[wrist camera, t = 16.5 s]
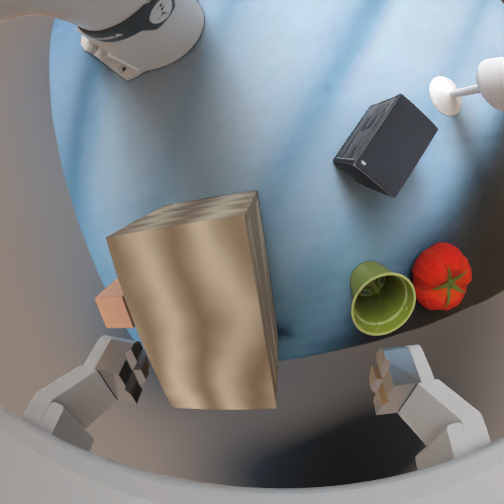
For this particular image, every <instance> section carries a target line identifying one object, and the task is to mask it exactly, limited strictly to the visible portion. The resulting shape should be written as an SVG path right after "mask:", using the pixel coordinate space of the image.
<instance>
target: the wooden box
mask: <svg viewBox="0 0 504 504" xmlns="http://www.w3.org/2000/svg"><path fill="white" fill-rule="evenodd" d="M106 239H107V243H108V247H109V250H110V254H111V257H112V260H113V264H114V267H115V270H116V273H117V276H118V279H119V282H120V285H121V288H122V291H123V294H124V297H125V300H126V303H127V305H128V308H129V311H130V314H131V316H132V319H133V321H134V324H135V327H136V329H137V332H138V334H139V337H140V339H141V341H142V344H143V346H144V348H145V351H146V353H147V355H148V358H149V360H150V362H151V364H152V367H153V369H154V371H155V373H156V375H157V377H158V379H159V382H160V384H161V386H162V388H163V390H164V392H165V394H166V395H167V397H168V400H169V401H170V403H171V405H172V407H175V408H191V409H216V410H218V409H219V410H241V409H242V410H244V409H246V410H247V409H271V408H272V409H273V408H276V405H277V404H276V403H277V368H278V331H277V324H276V317H275V309H274V302H273V295H272V288H271V281H270V274H269V267H268V260H267V253H266V246H265V239H264V233H263V226H262V219H261V213H260V206H259V200H258V193H257V191H251V192H244V193H237V194H231V195H224V196H218V197H212V198H206V199H200V200H194V201H188V202H183V203H177V204H172V205H167V206H163V207H161V208H159V209H157V210H155V211H153V212H151V213H149V214H148V215H146V216H144V217H142V218H140V219H138V220H137V221H135V222H133V223H131V224H129V225H127V226H126V227H124V228H122V229H120V230H119V231H117V232H115V233H113V234H112V235H110V236H108V237H106Z"/></svg>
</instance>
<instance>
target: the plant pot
mask: <svg viewBox="0 0 504 504" xmlns="http://www.w3.org/2000/svg"><path fill="white" fill-rule="evenodd" d="M381 277H383V281H382V283H380V281H381ZM350 286H351V291H352V297H353V300H352V304H351V316H352V320H353V322H354V324H355V326H356V327H357V328H358V329H359V330H360V331H362V332H363V333H366V334H369V335H374V336H375V335H384V334H388V333H390V332H392V331H394V330H396V329H398V328H399V327H400V326H402V325H403V324H404V323H405V322H406V321H407V319H408V318H409V317H410V315H411V313H412V311H413V309H414V306H415V302H416V293H415V289H414V286H413V284H412V283H411V281H410V280H409V279H408V278H406V277H405V276H403V275H401V274H399V273H393V272H391V271H389V270H388V269H387V268H385V267H384V266H383V265H381V264H380V263H378V262H375V261H366V262H363V263H361V264H360V265H359V266H358V267H357V268H356V269H354V271H353V272H352V274H351V277H350ZM363 292H370V293H368V294H363Z"/></svg>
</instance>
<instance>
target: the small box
mask: <svg viewBox="0 0 504 504" xmlns="http://www.w3.org/2000/svg"><path fill="white" fill-rule="evenodd" d="M437 130H438V128H437V127H436V126H435V125H434V124H433V123H432V122H431V121H430V120H429V119H428V118H427V117H426V116H425V115H424V114H423V113H422V112H421V111H420V110H419V109H418V108H417V107H416V106H415V105H414V104H413V103H411V102H410V101H409V100H408V99H407V98H406V97H405V96H404V95H402V94H399V95H397V96H395V97H393V98H391V99H388V100H386V101H383V102H380V103H378V104H375V105H372V106H370V107H369V109H368V110H367V112H366V113H365V115H364V116H363V118H362V119H361V120H360V122H359V123H358V125H357V126H356V128H355V129H354V131H353V132H352V133H351V135H350V136H349V137H348V139H347V140H346V142H345V143H344V145H343V146H342V148H341V149H340V151H339V152H338V154H337V155H336V157H335V158H334V159H333V162H334V164H335V165H337V166H339V167H341V169H343V170H344V171H346V172H347V173H348V174H350V175H351V176H352V177H354V178H355V180H357V181H358V182H359V183H361V184H363V185H364V186H366V187H368V188H371V189H373V190H376V191H378V192H381V193H383V194H385V195H388V196H390V197H392V198H395V197H396V195H397V194H398V192H399V191H400V189H401V188H402V186H403V185H404V183H405V182H406V180H407V178H408V177H409V175H410V174H411V172H412V171H413V169H414V168H415V166H416V164H417V163H418V161H419V160H420V158H421V157H422V155H423V153H424V152H425V150H426V149H427V147H428V145H429V144H430V142H431V140H432V139H433V137H434V135H435V134H436V132H437Z"/></svg>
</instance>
